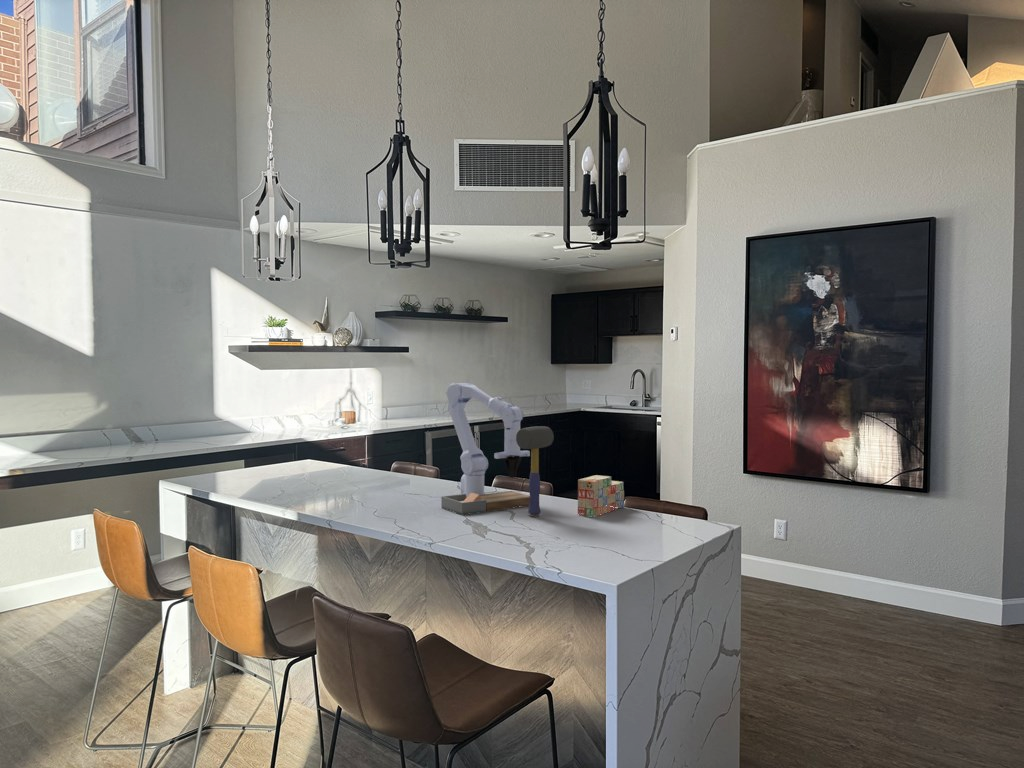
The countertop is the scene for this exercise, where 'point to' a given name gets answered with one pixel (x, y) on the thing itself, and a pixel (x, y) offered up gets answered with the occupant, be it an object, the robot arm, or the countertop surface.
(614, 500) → the stack of blocks
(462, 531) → the countertop surface
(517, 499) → the wooden serving tray
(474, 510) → the bin
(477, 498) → the tile back
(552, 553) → the countertop surface
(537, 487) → the rubber mallet
